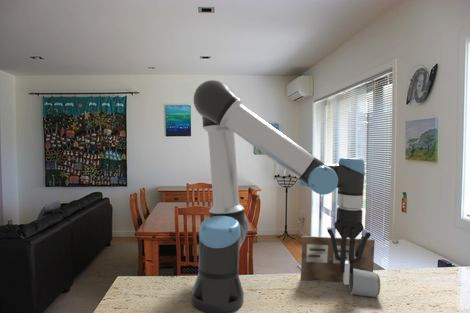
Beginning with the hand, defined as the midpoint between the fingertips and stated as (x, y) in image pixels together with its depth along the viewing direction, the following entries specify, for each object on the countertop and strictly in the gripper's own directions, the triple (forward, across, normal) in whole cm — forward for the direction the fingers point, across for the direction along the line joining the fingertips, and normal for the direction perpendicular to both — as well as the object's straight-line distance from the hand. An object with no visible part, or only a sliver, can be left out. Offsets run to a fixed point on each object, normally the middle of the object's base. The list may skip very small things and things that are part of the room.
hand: (345, 282), depth 99 cm
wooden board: (+4, +2, -9) cm, 10 cm away
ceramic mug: (+4, -5, -2) cm, 7 cm away
